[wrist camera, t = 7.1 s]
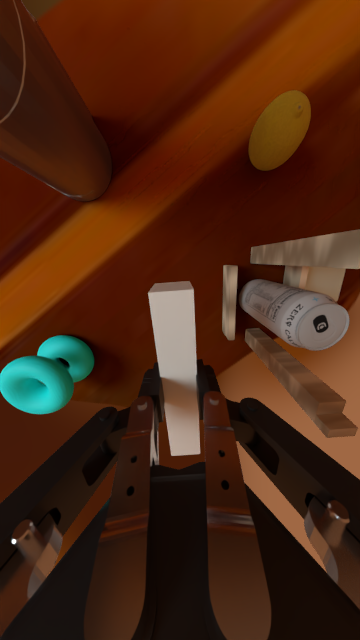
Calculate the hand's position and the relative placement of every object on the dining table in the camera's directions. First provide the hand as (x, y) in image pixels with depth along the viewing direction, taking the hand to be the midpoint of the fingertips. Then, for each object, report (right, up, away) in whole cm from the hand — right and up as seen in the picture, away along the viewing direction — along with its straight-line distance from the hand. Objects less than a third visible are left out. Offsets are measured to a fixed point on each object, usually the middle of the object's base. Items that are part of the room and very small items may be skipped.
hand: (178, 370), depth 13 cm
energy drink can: (+13, +9, +16) cm, 23 cm away
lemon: (+11, +27, +10) cm, 31 cm away
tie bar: (0, 0, +1) cm, 1 cm away
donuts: (-22, -3, +20) cm, 30 cm away
